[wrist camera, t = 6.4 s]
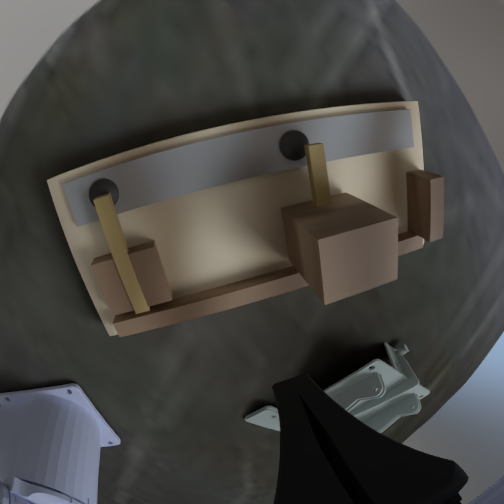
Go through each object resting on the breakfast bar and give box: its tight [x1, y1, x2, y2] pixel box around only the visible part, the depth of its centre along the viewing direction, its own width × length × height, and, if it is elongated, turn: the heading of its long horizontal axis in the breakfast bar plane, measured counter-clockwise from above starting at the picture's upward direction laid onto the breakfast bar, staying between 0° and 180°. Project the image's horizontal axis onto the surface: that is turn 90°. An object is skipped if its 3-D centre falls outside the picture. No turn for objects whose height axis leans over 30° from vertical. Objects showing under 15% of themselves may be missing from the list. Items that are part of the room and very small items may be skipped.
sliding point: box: [281, 143, 398, 305], centre depth 15 cm, size 4×6×5 cm, turn 11°
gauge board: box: [47, 101, 444, 337], centre depth 17 cm, size 22×10×4 cm, turn 101°
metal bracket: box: [244, 342, 430, 433], centre depth 27 cm, size 14×6×15 cm
